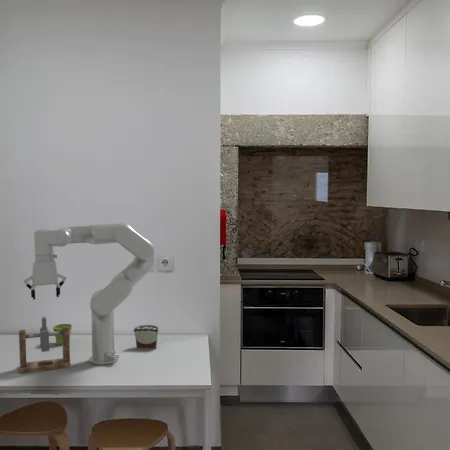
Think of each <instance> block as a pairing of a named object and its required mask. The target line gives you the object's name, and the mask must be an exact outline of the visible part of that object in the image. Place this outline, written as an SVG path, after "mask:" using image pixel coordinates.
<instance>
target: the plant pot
mask: <svg viewBox="0 0 450 450" xmlns="http://www.w3.org/2000/svg"><path fill="white" fill-rule="evenodd" d="M62 326H69V344H70V341H71V335H72V333H71V332H72V328H73V324H71V323H58V324H55V325H53V326H52V329H53V332H57V331H62ZM54 337H55V342H56V345H58V346H63V337H62V335H56V336H54Z"/></svg>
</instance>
